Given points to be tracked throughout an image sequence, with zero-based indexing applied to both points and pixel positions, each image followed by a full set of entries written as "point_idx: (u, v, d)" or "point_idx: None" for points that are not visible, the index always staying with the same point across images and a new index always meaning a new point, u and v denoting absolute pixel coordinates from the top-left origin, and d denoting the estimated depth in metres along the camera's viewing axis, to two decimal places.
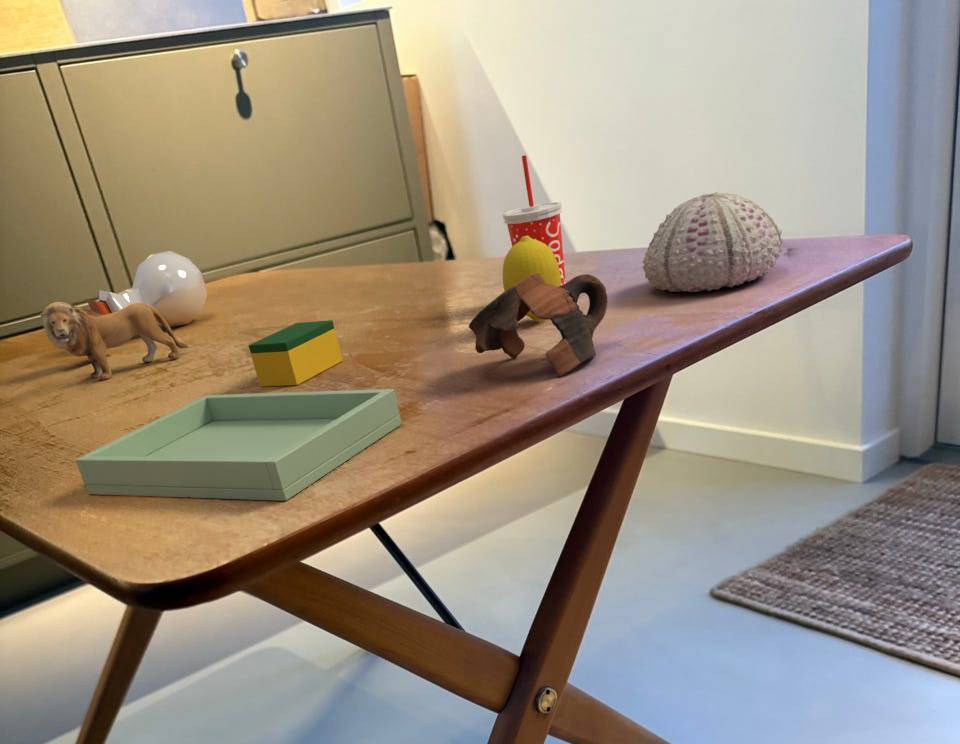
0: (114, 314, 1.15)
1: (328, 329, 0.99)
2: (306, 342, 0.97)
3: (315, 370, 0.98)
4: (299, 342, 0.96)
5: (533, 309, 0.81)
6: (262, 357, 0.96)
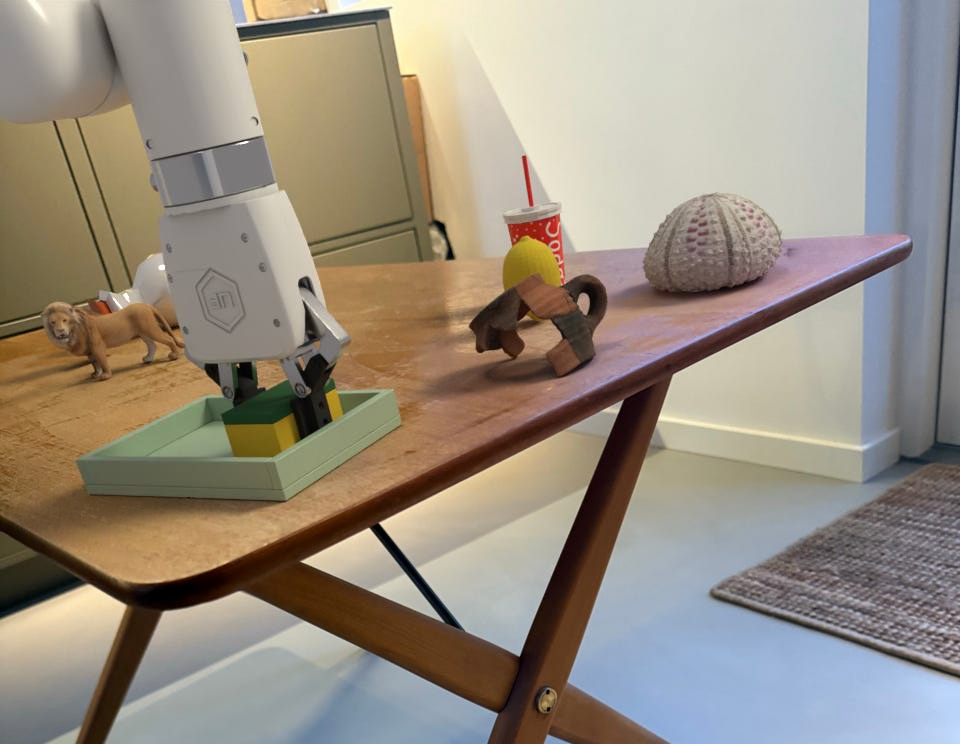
0: (114, 314, 1.15)
1: (328, 390, 0.75)
2: None
3: None
4: (289, 411, 0.71)
5: (533, 309, 0.81)
6: (239, 430, 0.72)
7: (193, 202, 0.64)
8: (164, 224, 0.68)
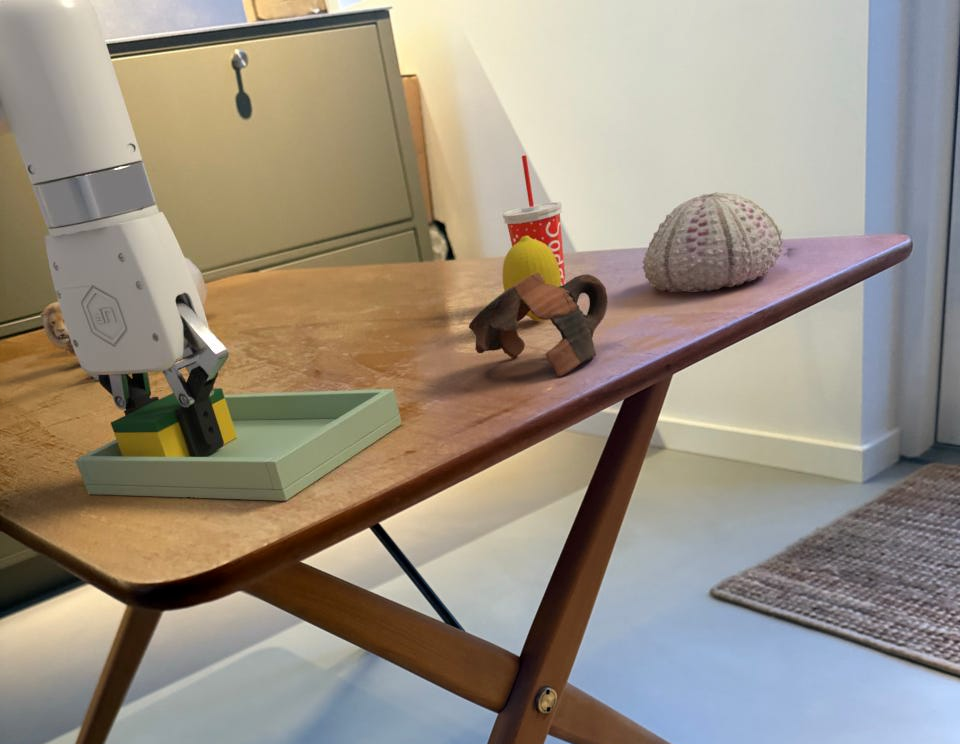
0: None
1: (216, 400, 0.79)
2: None
3: None
4: (174, 419, 0.75)
5: (533, 309, 0.81)
6: (128, 438, 0.76)
7: (71, 224, 0.68)
8: (50, 244, 0.71)
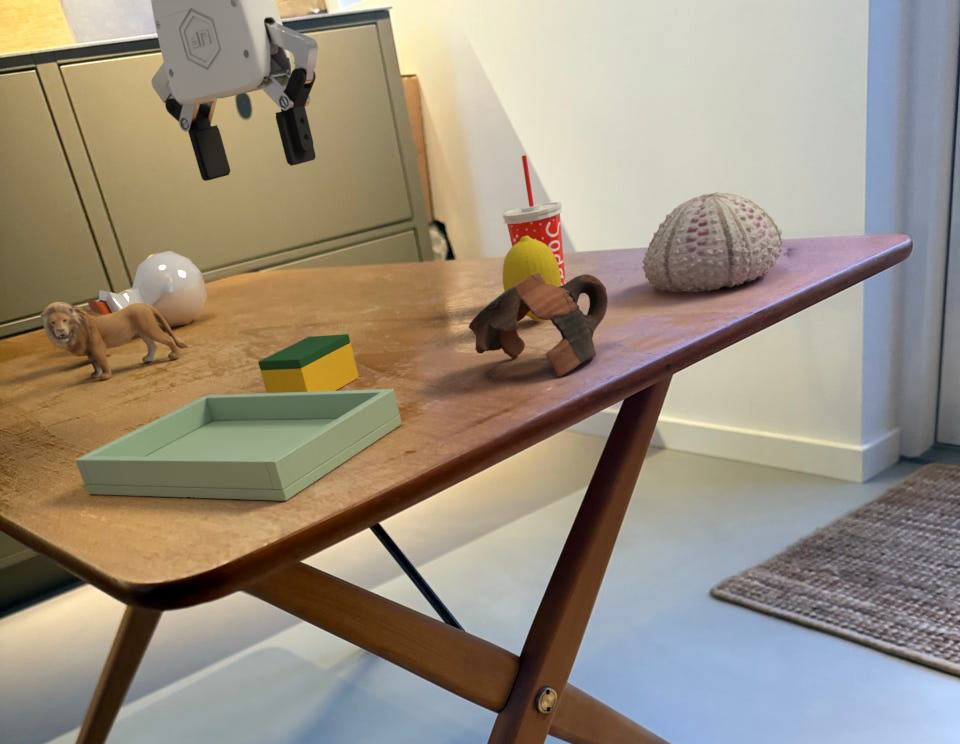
0: (114, 314, 1.15)
1: (344, 344, 0.92)
2: (321, 358, 0.90)
3: (330, 388, 0.91)
4: (313, 358, 0.89)
5: (533, 309, 0.81)
6: (273, 374, 0.89)
7: None
8: None
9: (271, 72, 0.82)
